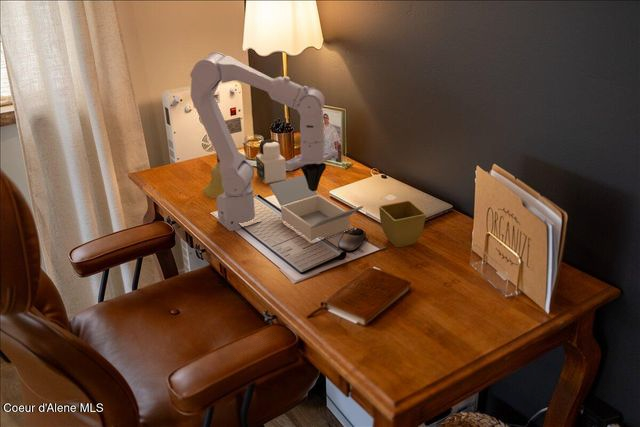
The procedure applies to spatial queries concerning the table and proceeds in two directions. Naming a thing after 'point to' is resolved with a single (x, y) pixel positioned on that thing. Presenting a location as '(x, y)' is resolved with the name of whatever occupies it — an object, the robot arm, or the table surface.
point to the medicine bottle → (270, 162)
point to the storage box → (314, 217)
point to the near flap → (337, 217)
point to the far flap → (292, 190)
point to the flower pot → (402, 222)
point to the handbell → (214, 182)
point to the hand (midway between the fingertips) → (312, 189)
